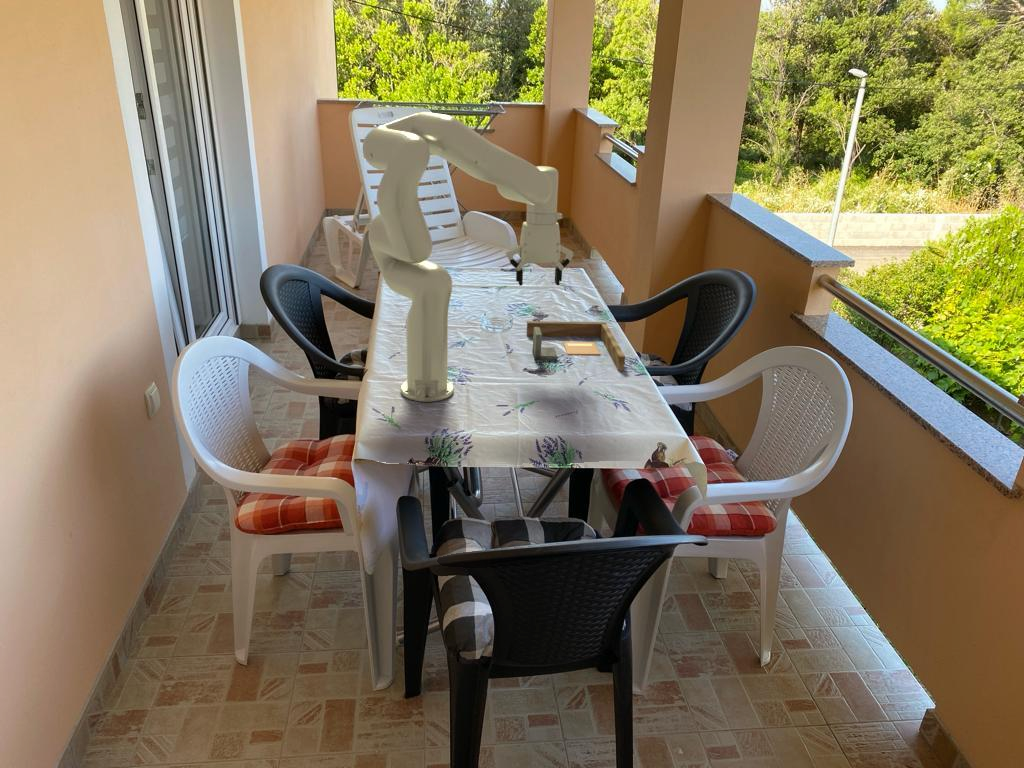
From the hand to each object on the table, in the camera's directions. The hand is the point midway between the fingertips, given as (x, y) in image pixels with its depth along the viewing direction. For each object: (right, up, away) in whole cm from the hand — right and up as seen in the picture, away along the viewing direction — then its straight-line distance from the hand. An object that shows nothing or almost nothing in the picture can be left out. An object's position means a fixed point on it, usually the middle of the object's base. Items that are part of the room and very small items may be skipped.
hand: (538, 283), depth 193 cm
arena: (+10, -17, +12) cm, 23 cm away
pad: (+12, -16, +14) cm, 25 cm away
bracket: (+2, -19, +8) cm, 20 cm away
